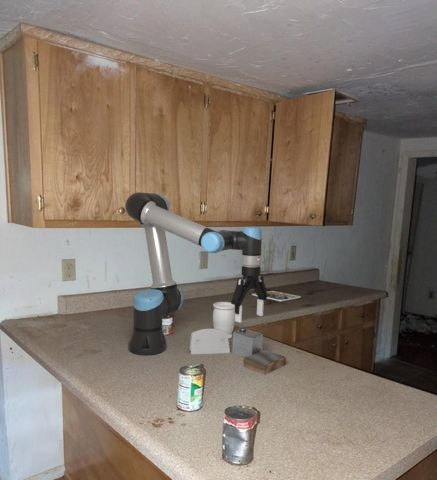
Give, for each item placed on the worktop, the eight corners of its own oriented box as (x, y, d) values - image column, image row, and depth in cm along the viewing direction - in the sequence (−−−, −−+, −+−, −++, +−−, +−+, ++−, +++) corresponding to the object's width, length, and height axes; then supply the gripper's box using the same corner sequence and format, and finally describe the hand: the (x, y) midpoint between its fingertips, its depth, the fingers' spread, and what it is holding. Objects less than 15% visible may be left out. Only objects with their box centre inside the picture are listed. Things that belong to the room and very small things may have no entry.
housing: (251, 361, 149) (252, 334, 148) (232, 353, 155) (233, 328, 155) (261, 356, 153) (263, 330, 152) (242, 349, 160) (243, 324, 159)
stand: (264, 374, 136) (265, 365, 136) (243, 366, 143) (243, 357, 143) (285, 364, 146) (285, 356, 146) (264, 357, 153) (264, 349, 152)
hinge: (190, 354, 153) (189, 328, 155) (188, 354, 157) (188, 329, 160) (230, 352, 156) (230, 327, 158) (228, 352, 160) (227, 328, 163)
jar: (219, 331, 183) (220, 300, 181) (238, 335, 178) (240, 303, 176) (207, 337, 174) (208, 304, 172) (227, 341, 168) (228, 308, 167)
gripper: (237, 269, 140) (235, 326, 141) (277, 264, 158) (275, 314, 159) (222, 267, 145) (221, 322, 146) (262, 262, 163) (261, 311, 164)
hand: (249, 318), depth 153 cm, fingers open, 13 cm apart
